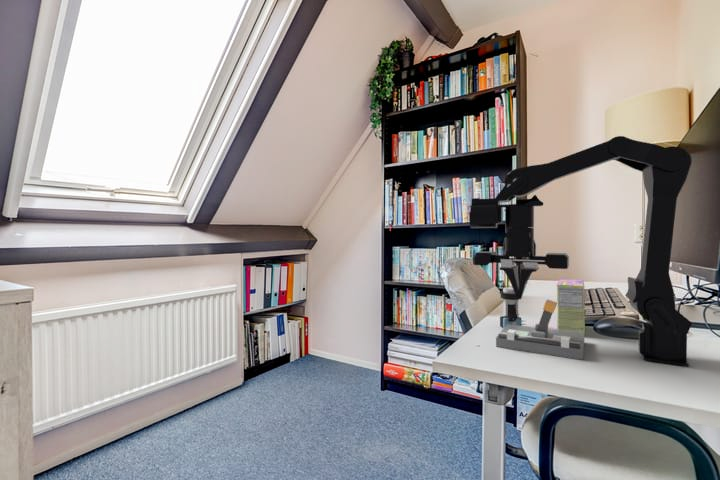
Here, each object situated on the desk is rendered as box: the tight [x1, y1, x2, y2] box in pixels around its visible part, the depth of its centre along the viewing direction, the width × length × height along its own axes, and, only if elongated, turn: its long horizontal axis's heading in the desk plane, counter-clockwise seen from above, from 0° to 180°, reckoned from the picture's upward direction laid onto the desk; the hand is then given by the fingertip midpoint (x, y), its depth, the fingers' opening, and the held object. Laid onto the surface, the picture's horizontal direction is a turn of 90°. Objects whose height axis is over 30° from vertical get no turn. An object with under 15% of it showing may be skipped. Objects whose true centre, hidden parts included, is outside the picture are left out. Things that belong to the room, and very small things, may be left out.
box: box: [556, 279, 586, 337], centre depth 90 cm, size 10×6×12 cm, turn 149°
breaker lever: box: [537, 299, 557, 332], centre depth 78 cm, size 2×4×7 cm, turn 148°
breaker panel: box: [495, 323, 585, 361], centre depth 80 cm, size 16×12×4 cm
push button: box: [499, 286, 527, 329], centre depth 93 cm, size 7×5×10 cm
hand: (519, 298), depth 81 cm, fingers closed
